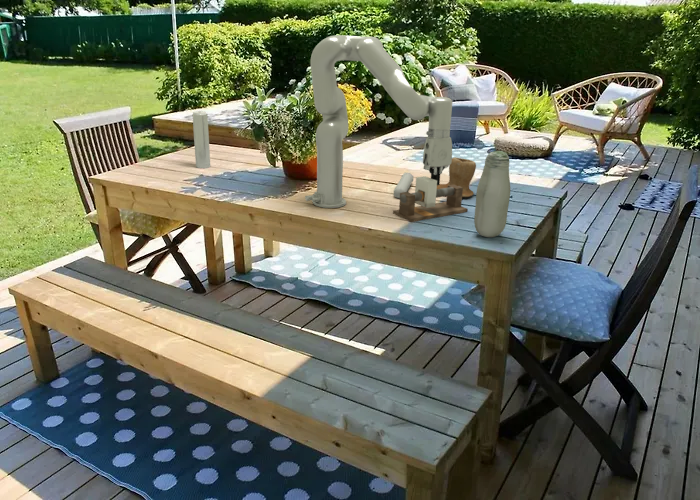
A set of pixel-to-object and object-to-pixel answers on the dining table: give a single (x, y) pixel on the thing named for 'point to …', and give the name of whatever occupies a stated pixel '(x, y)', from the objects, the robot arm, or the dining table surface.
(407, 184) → the tube
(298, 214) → the dining table surface
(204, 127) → the grey upright post
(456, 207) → the pipe stand
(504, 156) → the glass bottle
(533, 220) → the dining table surface
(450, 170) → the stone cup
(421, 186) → the cream upright slab
